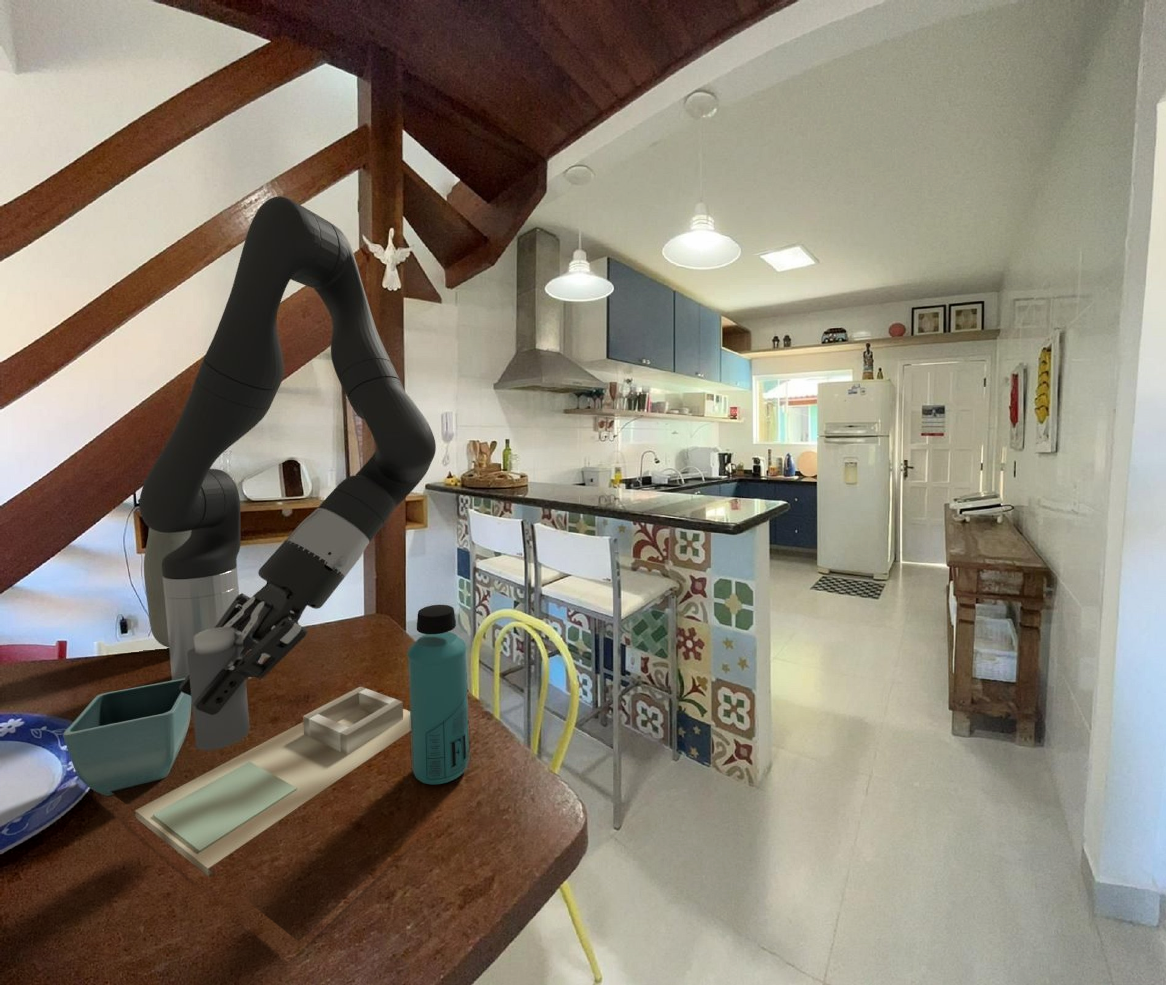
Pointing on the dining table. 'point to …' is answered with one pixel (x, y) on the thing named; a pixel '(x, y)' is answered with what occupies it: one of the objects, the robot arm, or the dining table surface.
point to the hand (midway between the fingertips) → (196, 701)
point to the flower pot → (129, 736)
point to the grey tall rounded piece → (159, 578)
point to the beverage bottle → (438, 698)
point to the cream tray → (274, 777)
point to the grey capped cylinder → (203, 668)
